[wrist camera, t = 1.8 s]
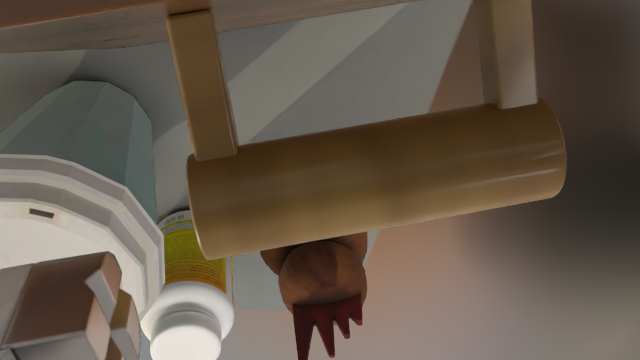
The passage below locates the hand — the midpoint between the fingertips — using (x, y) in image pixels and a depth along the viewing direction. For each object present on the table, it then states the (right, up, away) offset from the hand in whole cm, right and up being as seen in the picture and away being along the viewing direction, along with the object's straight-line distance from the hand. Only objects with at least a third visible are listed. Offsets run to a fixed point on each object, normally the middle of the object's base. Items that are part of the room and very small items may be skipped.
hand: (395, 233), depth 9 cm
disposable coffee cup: (-15, +4, +28) cm, 32 cm away
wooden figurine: (-2, 0, +33) cm, 33 cm away
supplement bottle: (-10, -3, +34) cm, 35 cm away
